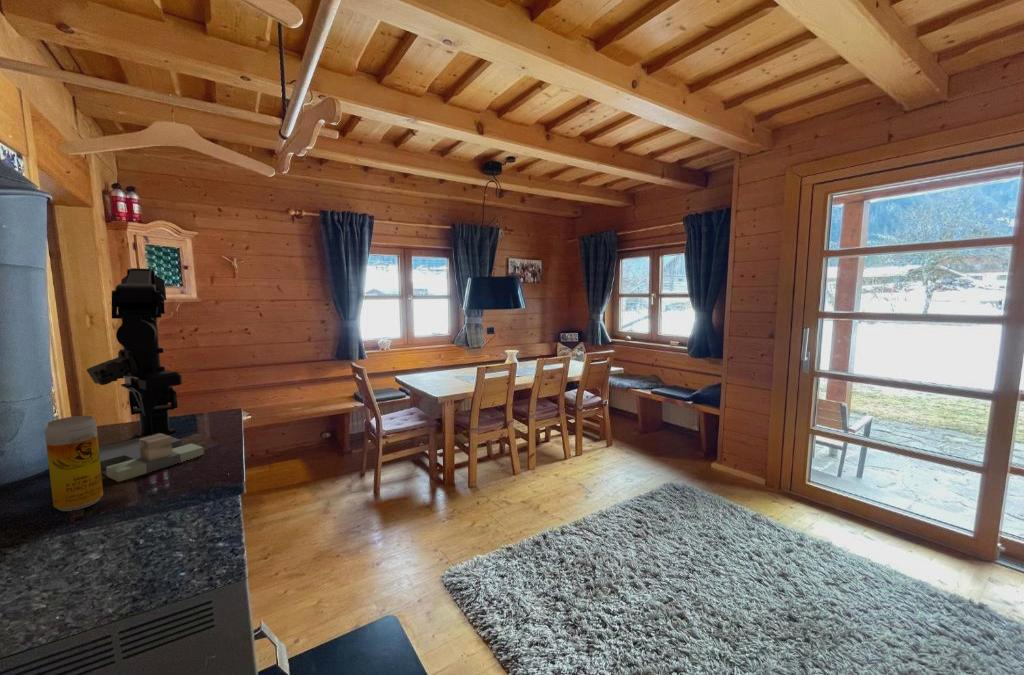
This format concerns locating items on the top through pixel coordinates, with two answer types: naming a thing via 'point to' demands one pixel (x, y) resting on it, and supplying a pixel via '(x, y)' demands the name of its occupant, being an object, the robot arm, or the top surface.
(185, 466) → the top surface
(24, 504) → the top surface
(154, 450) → the block
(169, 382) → the robot arm
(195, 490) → the top surface
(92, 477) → the beer can
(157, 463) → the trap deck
